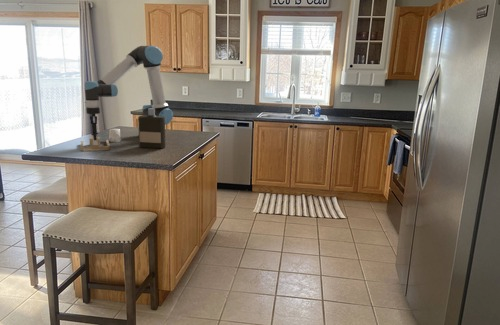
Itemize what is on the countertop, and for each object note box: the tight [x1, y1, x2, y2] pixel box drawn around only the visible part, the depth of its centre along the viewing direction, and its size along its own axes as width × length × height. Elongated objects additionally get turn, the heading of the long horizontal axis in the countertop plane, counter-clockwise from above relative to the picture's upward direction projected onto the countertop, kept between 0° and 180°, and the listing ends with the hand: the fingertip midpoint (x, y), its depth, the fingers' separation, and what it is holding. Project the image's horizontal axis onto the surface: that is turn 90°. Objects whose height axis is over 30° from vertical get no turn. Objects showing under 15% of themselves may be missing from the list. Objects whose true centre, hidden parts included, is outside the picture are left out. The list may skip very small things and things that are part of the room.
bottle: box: [137, 108, 166, 150], centre depth 228 cm, size 8×16×25 cm, turn 88°
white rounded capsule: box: [108, 128, 122, 143], centre depth 244 cm, size 7×7×8 cm
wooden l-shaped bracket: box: [80, 139, 111, 152], centre depth 225 cm, size 20×16×2 cm
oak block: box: [88, 136, 101, 147], centre depth 229 cm, size 6×6×5 cm
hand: (95, 144), depth 225 cm, fingers closed
